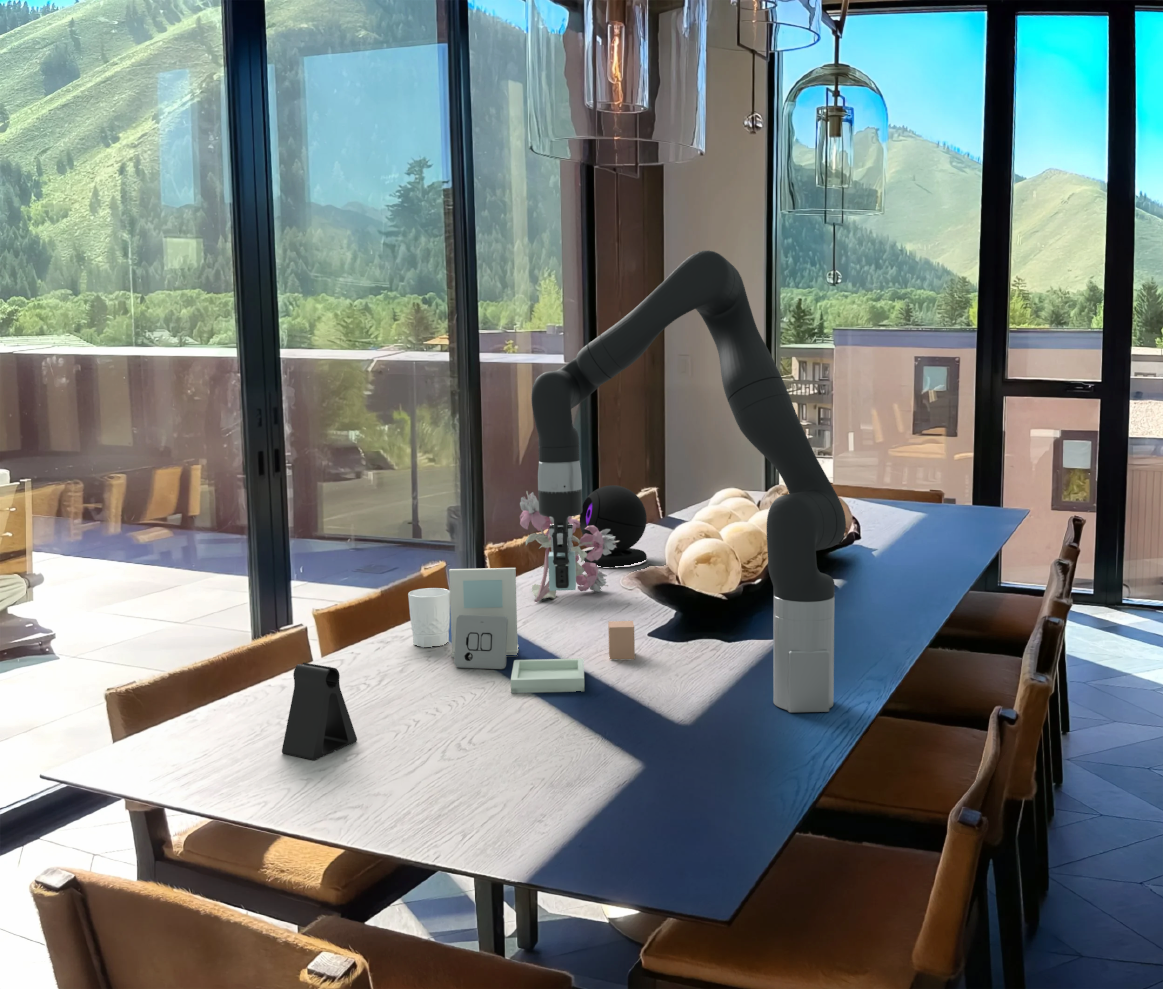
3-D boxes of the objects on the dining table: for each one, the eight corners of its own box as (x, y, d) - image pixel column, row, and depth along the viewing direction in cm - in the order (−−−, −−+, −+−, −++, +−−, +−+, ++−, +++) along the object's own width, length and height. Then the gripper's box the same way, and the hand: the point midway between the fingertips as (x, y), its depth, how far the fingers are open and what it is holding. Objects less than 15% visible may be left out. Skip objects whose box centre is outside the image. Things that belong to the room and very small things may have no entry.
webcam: (572, 558, 306) (571, 483, 303) (633, 554, 311) (632, 480, 308) (593, 570, 289) (591, 491, 287) (656, 565, 294) (656, 487, 292)
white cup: (401, 646, 220) (399, 594, 219) (426, 636, 227) (424, 586, 226) (436, 650, 216) (434, 598, 215) (459, 640, 223) (458, 589, 222)
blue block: (575, 590, 199) (574, 555, 198) (549, 590, 199) (548, 556, 198) (576, 584, 204) (575, 551, 203) (550, 585, 204) (549, 551, 203)
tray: (584, 691, 189) (584, 678, 189) (511, 693, 189) (510, 679, 189) (583, 670, 201) (583, 658, 201) (514, 672, 201) (514, 660, 201)
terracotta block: (634, 659, 208) (634, 626, 207) (609, 660, 208) (609, 627, 207) (633, 653, 212) (633, 620, 211) (608, 653, 212) (608, 621, 211)
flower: (605, 604, 245) (620, 492, 252) (501, 592, 248) (519, 482, 255) (612, 624, 264) (627, 519, 271) (516, 612, 267) (533, 509, 274)
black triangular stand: (326, 735, 170) (322, 655, 169) (357, 741, 167) (353, 660, 166) (281, 754, 163) (277, 671, 161) (312, 761, 160) (308, 676, 158)
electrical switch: (453, 668, 204) (453, 616, 204) (462, 663, 209) (462, 612, 209) (504, 671, 202) (504, 618, 202) (512, 665, 207) (512, 614, 207)
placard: (517, 656, 211) (515, 569, 209) (451, 657, 211) (448, 571, 209) (518, 648, 216) (516, 564, 214) (454, 650, 216) (451, 566, 214)
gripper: (581, 491, 192) (583, 593, 194) (582, 482, 206) (585, 576, 208) (535, 492, 192) (539, 594, 194) (540, 483, 206) (543, 577, 208)
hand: (562, 584), depth 201 cm, fingers closed on blue block, 4 cm apart
